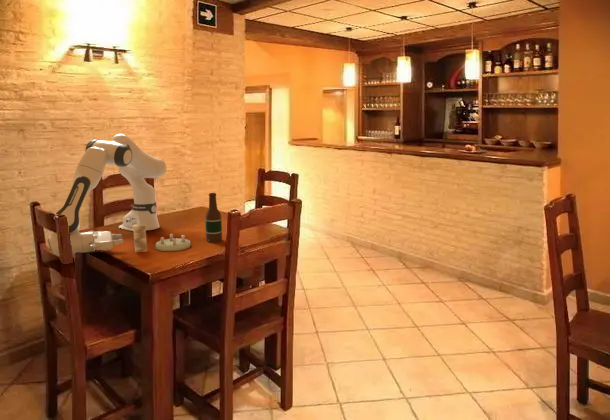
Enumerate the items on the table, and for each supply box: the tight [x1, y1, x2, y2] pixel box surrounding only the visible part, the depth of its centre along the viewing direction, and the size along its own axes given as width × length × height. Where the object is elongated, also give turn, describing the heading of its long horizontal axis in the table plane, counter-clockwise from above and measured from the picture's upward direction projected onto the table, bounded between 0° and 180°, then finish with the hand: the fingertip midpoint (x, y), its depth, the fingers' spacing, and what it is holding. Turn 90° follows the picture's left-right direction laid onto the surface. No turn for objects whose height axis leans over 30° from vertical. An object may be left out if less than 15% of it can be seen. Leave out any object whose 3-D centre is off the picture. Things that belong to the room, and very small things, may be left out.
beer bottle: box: [204, 192, 223, 243], centre depth 243 cm, size 8×8×24 cm
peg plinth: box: [155, 233, 191, 252], centre depth 233 cm, size 16×16×5 cm
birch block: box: [132, 224, 148, 253], centre depth 226 cm, size 5×5×12 cm
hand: (122, 238), depth 223 cm, fingers open, 8 cm apart
